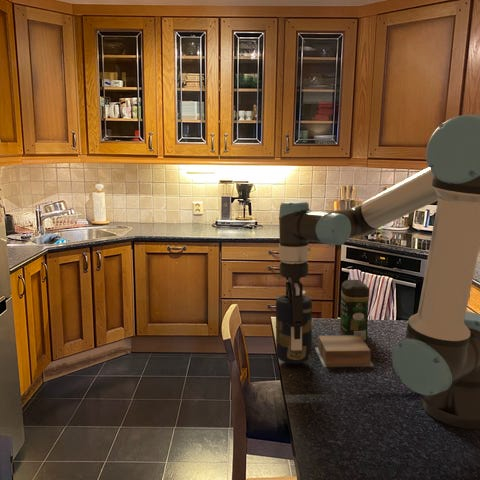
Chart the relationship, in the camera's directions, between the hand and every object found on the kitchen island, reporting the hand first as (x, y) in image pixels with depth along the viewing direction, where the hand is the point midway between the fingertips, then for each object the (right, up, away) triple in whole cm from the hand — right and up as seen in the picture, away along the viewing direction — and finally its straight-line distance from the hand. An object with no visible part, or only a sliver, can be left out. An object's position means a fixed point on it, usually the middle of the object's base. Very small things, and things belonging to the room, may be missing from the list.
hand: (293, 342), depth 130 cm
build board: (+14, -7, +5) cm, 16 cm away
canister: (0, -5, +1) cm, 5 cm away
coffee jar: (+21, -4, +22) cm, 31 cm away
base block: (+15, -5, +6) cm, 16 cm away
